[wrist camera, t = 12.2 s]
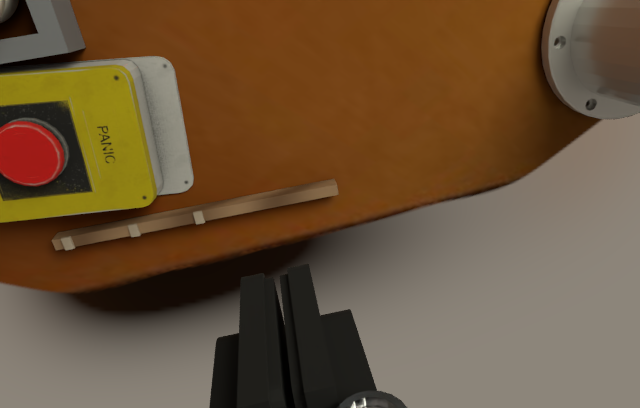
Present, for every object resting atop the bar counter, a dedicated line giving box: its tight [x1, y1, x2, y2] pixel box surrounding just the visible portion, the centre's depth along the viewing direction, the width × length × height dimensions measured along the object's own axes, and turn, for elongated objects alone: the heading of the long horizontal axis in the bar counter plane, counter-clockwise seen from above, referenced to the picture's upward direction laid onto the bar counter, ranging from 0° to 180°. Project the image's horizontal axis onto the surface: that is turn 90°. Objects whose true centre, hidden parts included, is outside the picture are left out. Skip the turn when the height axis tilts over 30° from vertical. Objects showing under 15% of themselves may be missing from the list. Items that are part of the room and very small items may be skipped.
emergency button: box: [0, 56, 194, 223], centre depth 29 cm, size 9×4×15 cm
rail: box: [52, 179, 338, 250], centre depth 33 cm, size 20×1×1 cm, turn 99°
